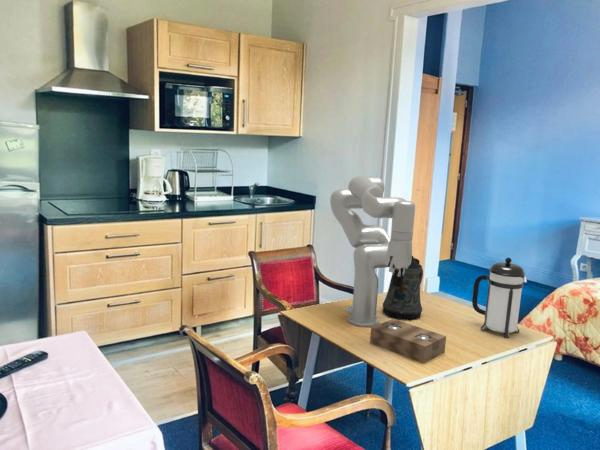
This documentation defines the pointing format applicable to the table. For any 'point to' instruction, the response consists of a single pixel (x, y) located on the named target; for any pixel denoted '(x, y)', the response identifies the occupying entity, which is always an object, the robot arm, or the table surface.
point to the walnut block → (408, 340)
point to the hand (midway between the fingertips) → (397, 286)
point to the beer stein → (405, 295)
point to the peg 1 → (393, 327)
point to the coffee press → (501, 297)
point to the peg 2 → (423, 337)
